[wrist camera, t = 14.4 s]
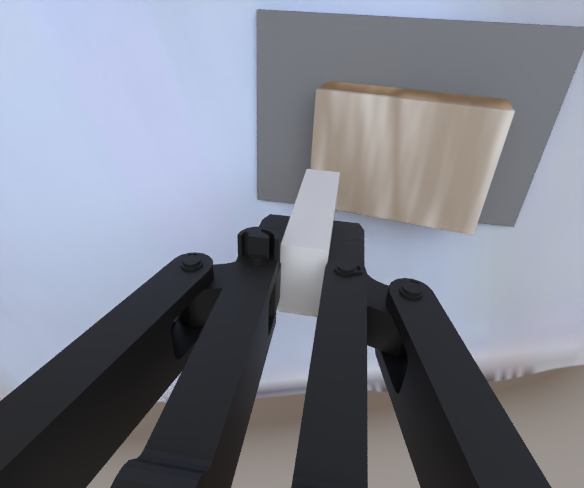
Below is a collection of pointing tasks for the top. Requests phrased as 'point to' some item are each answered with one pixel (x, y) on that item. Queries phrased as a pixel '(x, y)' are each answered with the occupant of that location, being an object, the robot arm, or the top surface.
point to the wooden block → (409, 151)
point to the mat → (409, 85)
